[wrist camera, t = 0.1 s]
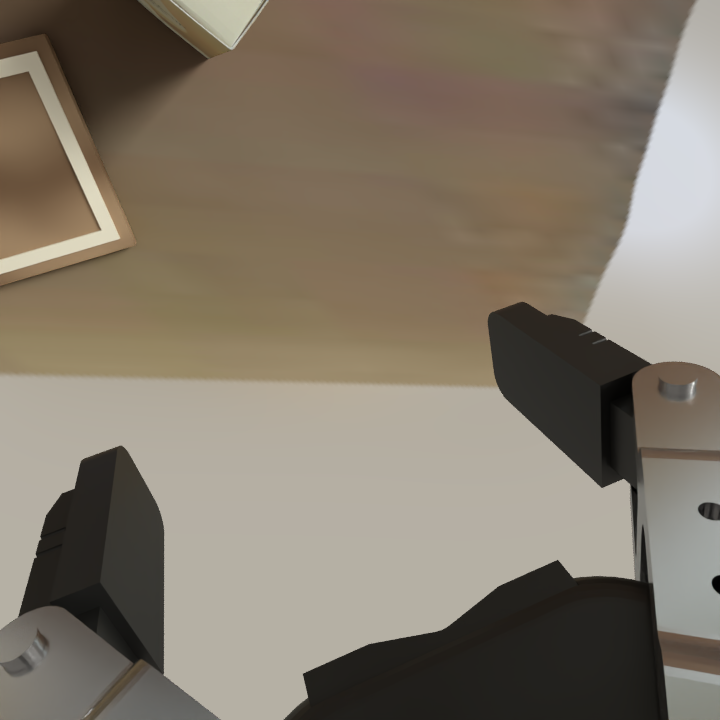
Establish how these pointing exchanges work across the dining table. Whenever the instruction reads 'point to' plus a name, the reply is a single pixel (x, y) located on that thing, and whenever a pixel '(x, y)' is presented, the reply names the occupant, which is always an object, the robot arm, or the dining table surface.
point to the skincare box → (207, 21)
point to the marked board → (49, 170)
